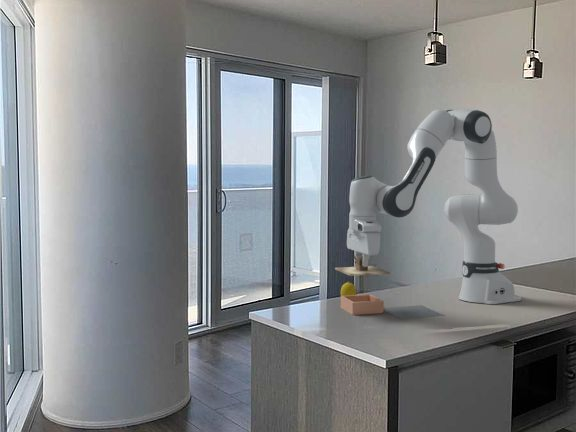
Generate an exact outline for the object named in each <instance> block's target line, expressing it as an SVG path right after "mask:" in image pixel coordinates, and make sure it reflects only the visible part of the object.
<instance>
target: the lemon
mask: <svg viewBox="0 0 576 432" xmlns="http://www.w3.org/2000/svg"><path fill="white" fill-rule="evenodd" d="M356 289H357V288H356V287H355V285H354V284H353V283H351V282H350V281H347V282H345V283H344V284H342V286H341V288H340V297H341V296H351V295H357V290H356Z"/></svg>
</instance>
